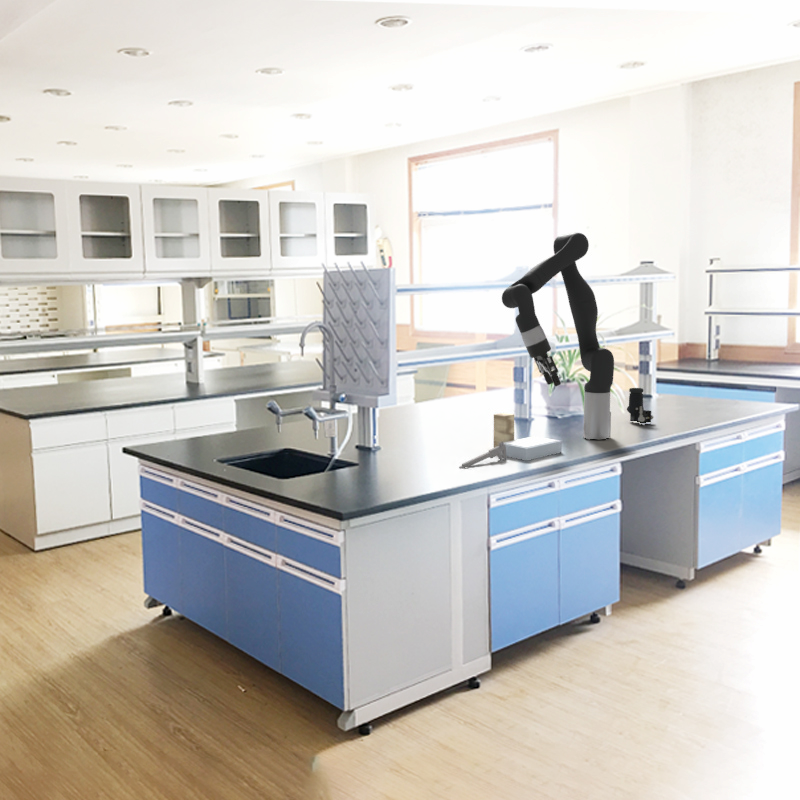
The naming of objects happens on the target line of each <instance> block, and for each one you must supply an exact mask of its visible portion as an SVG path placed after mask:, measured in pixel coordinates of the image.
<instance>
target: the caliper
mask: <svg viewBox="0 0 800 800" xmlns="http://www.w3.org/2000/svg"><path fill="white" fill-rule="evenodd" d="M501 451H502V453H501ZM496 457H497V458H498V460H499V459H500V461H503V460H506V459H507V456H506V446H505V444H504V442H502V441H501V443H499V446H497V447H495V448H494V447H493V448H491V449H488V451H487V452H484V453H483V454H480V455H479V456H477V457H474V458H471V459H470V460H468V461H465V462H463V463H461V465H460V466H458V469H461V468H462V469H466V468H465V467H467V468H469V467H471V466H473V465H475V464H478V463H480V462H482V461H484V460H486V459H488V458H490V459H493V458H496Z"/></svg>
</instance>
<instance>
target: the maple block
mask: <svg viewBox="0 0 800 800" xmlns="http://www.w3.org/2000/svg"><path fill="white" fill-rule="evenodd" d="M513 440H515V414H514V413H508V412H507V413H506V412H500V413H495V414H493V448H495V447H497V446H499V443H501V441H502V442H508V441H513Z"/></svg>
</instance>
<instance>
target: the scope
mask: <svg viewBox="0 0 800 800" xmlns="http://www.w3.org/2000/svg"><path fill="white" fill-rule="evenodd" d="M628 391H629V396H628V406H627V407H626V410H627V412H628V413H629V416H630V417H629V419H630V420H629V422H630V421H637V422H640V423H646V422H651V423H652V420H653V419H654V415H653V414H652V410H645V409H644V388H641V387H631V388H629V390H628Z"/></svg>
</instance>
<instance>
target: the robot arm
mask: <svg viewBox="0 0 800 800" xmlns="http://www.w3.org/2000/svg"><path fill="white" fill-rule="evenodd" d="M589 244H590V243H589V240H588V238H587V236H586V235H585V234H583V233H581V232H571V233H567V234H562V235H557V237H556V238H555V239H554V241H553V253H554V254H553V255H551V256H549V257H548V258H546V259H544V260H543V261H540V262H539V263H538V264H536V265H534V266H533V267H532V268H530V270H528V272H526V273H525V274H524V275H523V276H522V277H521V278H519V279H518V280H517V281H514V283H511V285H509V286H508V287H507V288H506V289H504V291H503V292H502V295H501V302H502V305H503V306H505V308H508V309H516V308H518V309H517V310H518V314H517V315H516V317H515V323H516V325H517V328H518V331H519V332H520V335H521V338H522V341H523V343H524V346H525V349H526V350H527V353H528V355H529V357H530V358H531V359H533V360H534V361H535V364H536V367H537V369H538V371H539V373H540V374H541V375H542V376H543V377H544V379H545V382H546V384H547V385H548V386H549V385H551V384H553V385H554V386H555V387H559V386H560V385H561V384H562V382H561V379H560V378H559V375H558V373H559V369H558V367H557V365H556V363H555V361H554V358H553V356H552V355H550V356H549V354H548V352H550V351H551V350H552V349H551V345H550V343H549V340H548V338H547V335H546V333H545V331H544V329H543V328H542V325H541V324H540V321H539V319H538V316H537V314H536V309H535V304H534V298H533V294H535V293H536V292H537V293H538V291H539V290H540V289H542V288H543V287H544V286H545V285H546V284H547V283H548V282H549V281H551V280H552V279H553V278H554V277H556V276H557V275H558V274H559V273H560V274H561V277H562V280H563V284H564V287H565V291H566V295H567V299H568V300H567V301H568V304H569V309H570V312H571V316H572V319H573V324H574V328H575V331H576V335H577V340H578V347H579V355H580V361H581V365H582V366H583V368H584V369H585V370H586V371H588V372H590V373H589V380H588V381H587V382H585V384H584V390H583V391H584V393H583V394H584V396H583V401H584V402H583V405H584V406H583V439H585V438H586V440H590V439H606V438H609V439H610V437H611V428H612V425H611V424H612V412H611V388H612V385H613V383H614V371H615V360H614V358H615V357H614V355H613V353H612V351H611V350H609V349H608V348H603V347H601V346H600V344H599V343H600V342H599V340H598V335H597V322H598V313H599V312H598V304H597V301H596V296H595V293H594V290H593V289H592V287H591V286H590V285H589V283H588V282H587V281H586V280H585V279H584V278H583V276H582V274H581V273H580V271H579V269H578V267H577V266H578V265H577V263H576V262H577V261H578V260H580V259H582V258H583V257H585V255H586V254H587V252H588V250H589V246H590V245H589ZM609 436H610V437H609ZM606 440H607V439H606Z"/></svg>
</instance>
